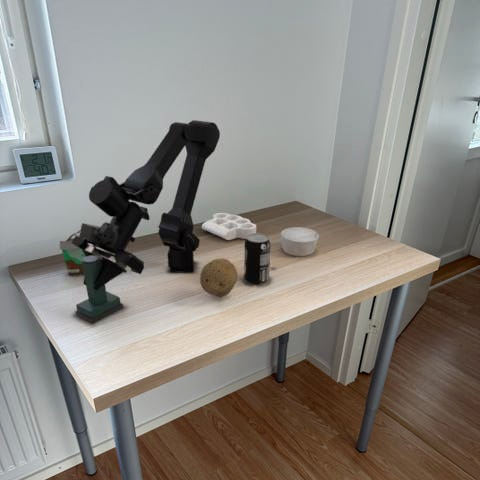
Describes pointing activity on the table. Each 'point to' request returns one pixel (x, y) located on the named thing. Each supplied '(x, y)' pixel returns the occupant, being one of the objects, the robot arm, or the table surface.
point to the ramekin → (299, 241)
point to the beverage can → (257, 258)
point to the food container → (72, 255)
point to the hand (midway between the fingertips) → (89, 287)
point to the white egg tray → (229, 226)
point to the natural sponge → (218, 277)
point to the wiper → (96, 294)
